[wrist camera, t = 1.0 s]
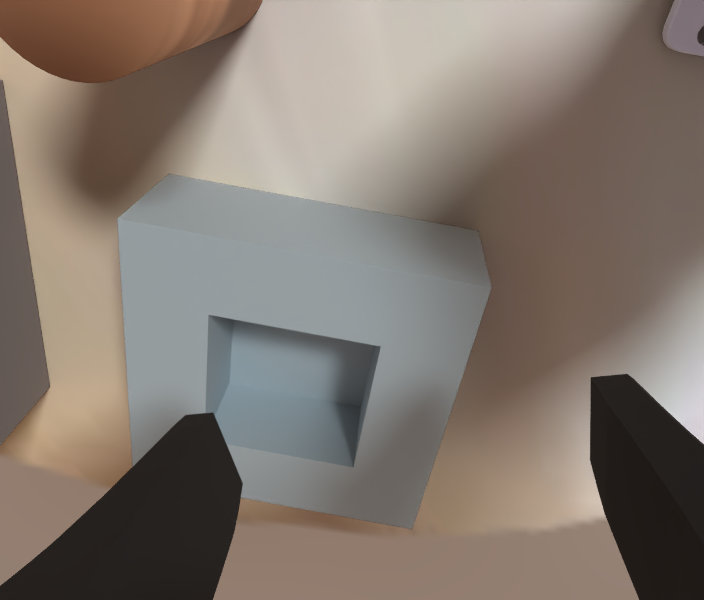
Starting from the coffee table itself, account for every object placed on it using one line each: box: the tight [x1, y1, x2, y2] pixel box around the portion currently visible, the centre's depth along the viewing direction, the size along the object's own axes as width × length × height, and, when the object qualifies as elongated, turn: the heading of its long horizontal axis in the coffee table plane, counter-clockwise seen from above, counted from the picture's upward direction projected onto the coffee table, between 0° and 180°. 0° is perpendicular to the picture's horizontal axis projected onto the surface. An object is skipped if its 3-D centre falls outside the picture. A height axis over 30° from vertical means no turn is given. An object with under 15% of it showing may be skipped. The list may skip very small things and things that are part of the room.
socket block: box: [117, 174, 492, 529], centre depth 19 cm, size 10×10×4 cm
